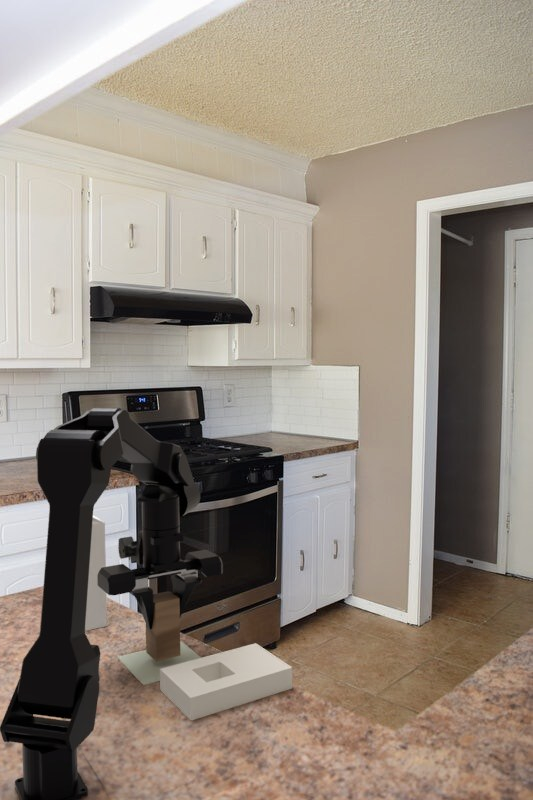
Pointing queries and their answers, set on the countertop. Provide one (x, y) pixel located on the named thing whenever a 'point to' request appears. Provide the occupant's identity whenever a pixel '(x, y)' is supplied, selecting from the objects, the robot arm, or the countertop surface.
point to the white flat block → (224, 680)
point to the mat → (154, 663)
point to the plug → (164, 627)
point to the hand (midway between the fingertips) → (162, 625)
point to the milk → (96, 579)
